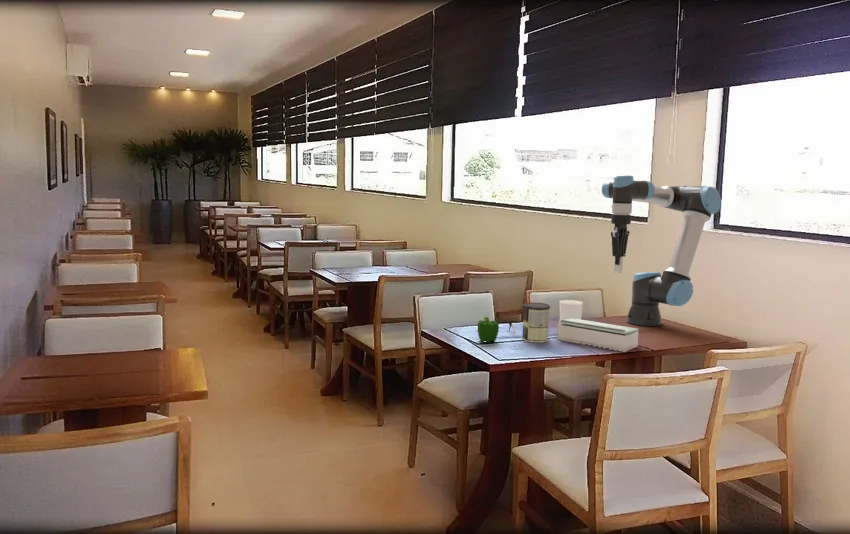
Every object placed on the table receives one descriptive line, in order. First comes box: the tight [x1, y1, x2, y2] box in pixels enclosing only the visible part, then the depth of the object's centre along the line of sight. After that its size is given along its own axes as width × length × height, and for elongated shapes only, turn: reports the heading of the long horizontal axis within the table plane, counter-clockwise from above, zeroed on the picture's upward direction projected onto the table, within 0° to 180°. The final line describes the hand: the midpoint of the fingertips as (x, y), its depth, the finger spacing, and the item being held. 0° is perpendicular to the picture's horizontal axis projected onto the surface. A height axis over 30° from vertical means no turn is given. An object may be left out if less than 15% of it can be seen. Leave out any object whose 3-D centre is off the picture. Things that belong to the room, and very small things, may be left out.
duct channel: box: [556, 323, 639, 353], centre depth 267 cm, size 12×28×6 cm, turn 50°
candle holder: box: [559, 299, 584, 324], centre depth 290 cm, size 10×10×12 cm
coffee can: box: [522, 302, 551, 344], centre depth 269 cm, size 10×10×14 cm
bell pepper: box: [477, 316, 500, 343], centre depth 265 cm, size 8×8×10 cm
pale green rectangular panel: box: [557, 318, 639, 334], centre depth 267 cm, size 12×28×1 cm, turn 50°
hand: (618, 272), depth 277 cm, fingers closed
